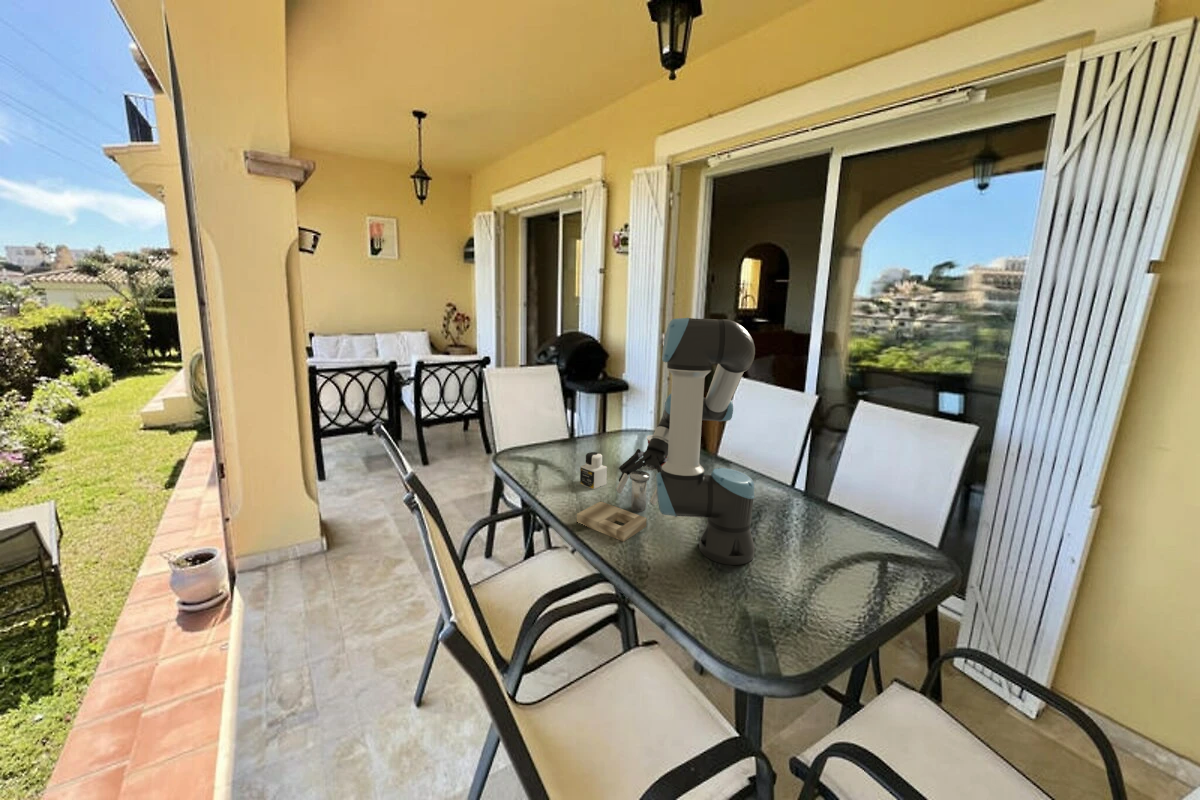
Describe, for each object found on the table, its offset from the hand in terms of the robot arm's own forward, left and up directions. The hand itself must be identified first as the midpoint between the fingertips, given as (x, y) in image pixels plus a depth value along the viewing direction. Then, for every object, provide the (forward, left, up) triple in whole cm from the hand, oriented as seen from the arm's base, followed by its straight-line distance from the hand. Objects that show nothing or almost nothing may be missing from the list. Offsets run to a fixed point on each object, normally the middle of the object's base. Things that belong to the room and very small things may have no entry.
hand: (634, 497), depth 163 cm
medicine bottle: (+24, -8, -5) cm, 26 cm away
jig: (0, +13, -5) cm, 13 cm away
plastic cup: (+16, -41, -5) cm, 45 cm away
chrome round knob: (0, -2, -5) cm, 5 cm away
